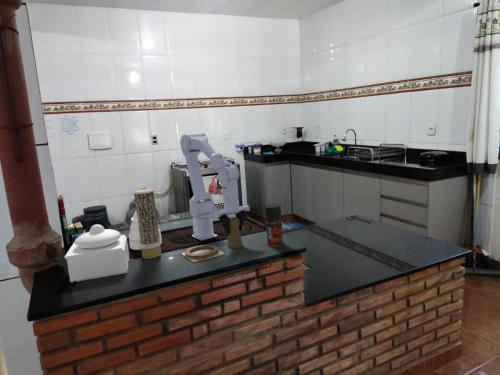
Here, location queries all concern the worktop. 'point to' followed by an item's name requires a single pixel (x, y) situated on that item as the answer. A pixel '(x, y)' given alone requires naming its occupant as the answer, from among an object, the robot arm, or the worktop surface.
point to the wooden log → (147, 223)
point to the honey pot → (137, 234)
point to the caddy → (202, 253)
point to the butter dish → (98, 254)
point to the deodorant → (274, 225)
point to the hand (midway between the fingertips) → (233, 232)
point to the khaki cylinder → (234, 234)
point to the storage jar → (96, 217)
